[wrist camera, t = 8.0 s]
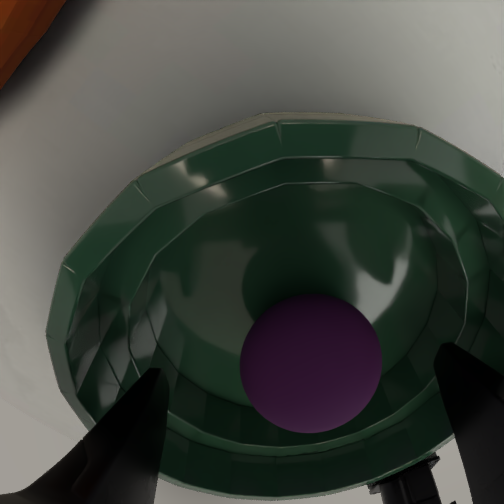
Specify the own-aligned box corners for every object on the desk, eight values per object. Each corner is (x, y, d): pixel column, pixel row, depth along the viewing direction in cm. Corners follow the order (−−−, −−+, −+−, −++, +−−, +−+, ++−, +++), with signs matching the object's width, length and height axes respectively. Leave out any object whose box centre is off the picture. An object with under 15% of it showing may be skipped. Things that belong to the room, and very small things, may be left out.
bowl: (413, 396, 15) (441, 466, 10) (160, 415, 15) (144, 494, 10) (483, 130, 8) (585, 164, 4) (77, 137, 9) (-30, 175, 4)
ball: (350, 356, 12) (380, 444, 8) (244, 365, 12) (245, 461, 8) (366, 263, 10) (423, 352, 6) (235, 271, 10) (230, 375, 6)
